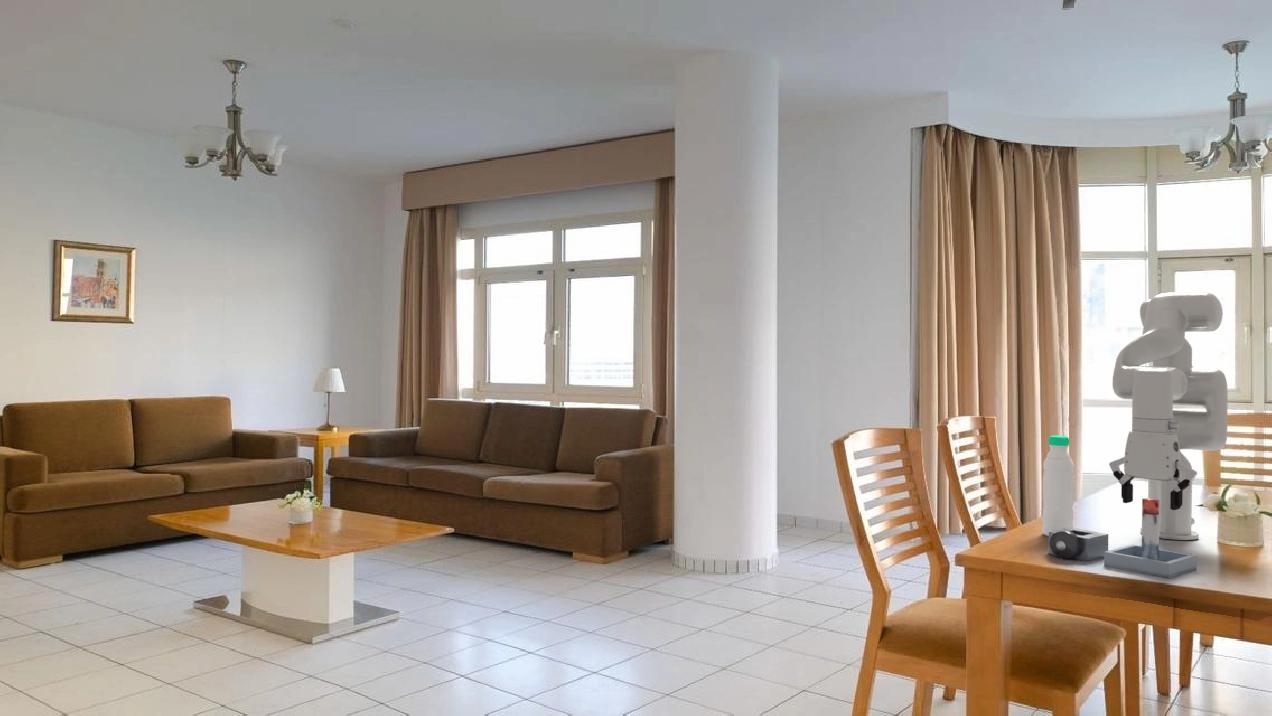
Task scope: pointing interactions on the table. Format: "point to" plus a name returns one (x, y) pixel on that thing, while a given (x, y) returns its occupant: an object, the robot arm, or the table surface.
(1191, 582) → the table surface
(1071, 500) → the water bottle
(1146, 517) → the pin
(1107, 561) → the tray
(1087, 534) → the tensioner block
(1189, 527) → the robot arm
